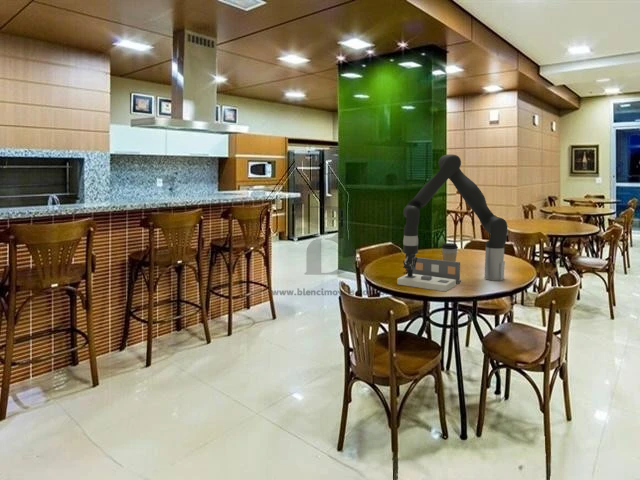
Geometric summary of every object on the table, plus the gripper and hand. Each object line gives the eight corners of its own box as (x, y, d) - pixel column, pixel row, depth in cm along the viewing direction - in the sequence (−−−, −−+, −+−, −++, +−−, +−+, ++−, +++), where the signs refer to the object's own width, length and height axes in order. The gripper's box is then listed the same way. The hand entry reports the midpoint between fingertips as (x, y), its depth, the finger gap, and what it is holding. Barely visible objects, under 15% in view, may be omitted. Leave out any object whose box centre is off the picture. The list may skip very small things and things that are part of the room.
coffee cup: (459, 268, 265) (460, 243, 263) (454, 271, 257) (455, 246, 255) (443, 266, 270) (444, 242, 268) (438, 270, 262) (439, 244, 260)
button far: (415, 281, 236) (415, 276, 235) (412, 283, 233) (412, 277, 232) (408, 280, 238) (408, 275, 238) (405, 282, 235) (405, 276, 235)
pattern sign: (461, 282, 234) (461, 261, 233) (457, 284, 230) (457, 263, 228) (415, 275, 250) (415, 256, 248) (410, 277, 245) (410, 258, 243)
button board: (455, 285, 228) (456, 279, 228) (445, 291, 217) (445, 285, 217) (409, 278, 243) (409, 273, 243) (397, 284, 232) (397, 278, 232)
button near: (448, 286, 225) (448, 280, 225) (445, 288, 222) (445, 282, 222) (440, 285, 228) (440, 279, 227) (437, 287, 224) (437, 281, 224)
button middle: (431, 281, 230) (431, 275, 230) (428, 283, 227) (428, 277, 227) (424, 280, 233) (424, 274, 232) (421, 282, 230) (421, 276, 229)
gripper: (411, 246, 225) (411, 279, 228) (422, 242, 235) (421, 274, 238) (398, 245, 229) (397, 277, 232) (409, 241, 240) (409, 273, 242)
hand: (410, 276), depth 235 cm, fingers closed
